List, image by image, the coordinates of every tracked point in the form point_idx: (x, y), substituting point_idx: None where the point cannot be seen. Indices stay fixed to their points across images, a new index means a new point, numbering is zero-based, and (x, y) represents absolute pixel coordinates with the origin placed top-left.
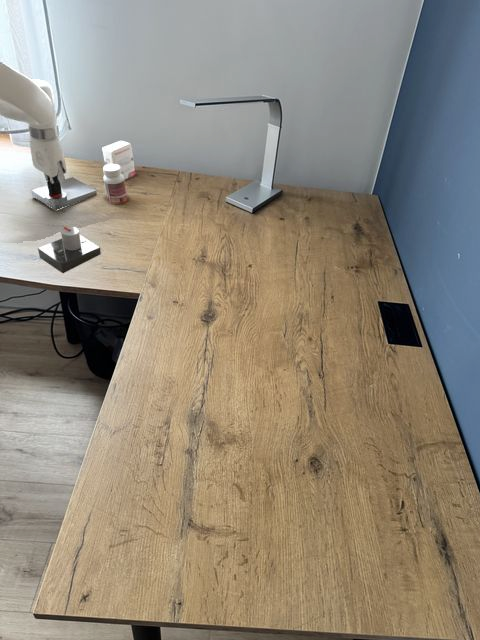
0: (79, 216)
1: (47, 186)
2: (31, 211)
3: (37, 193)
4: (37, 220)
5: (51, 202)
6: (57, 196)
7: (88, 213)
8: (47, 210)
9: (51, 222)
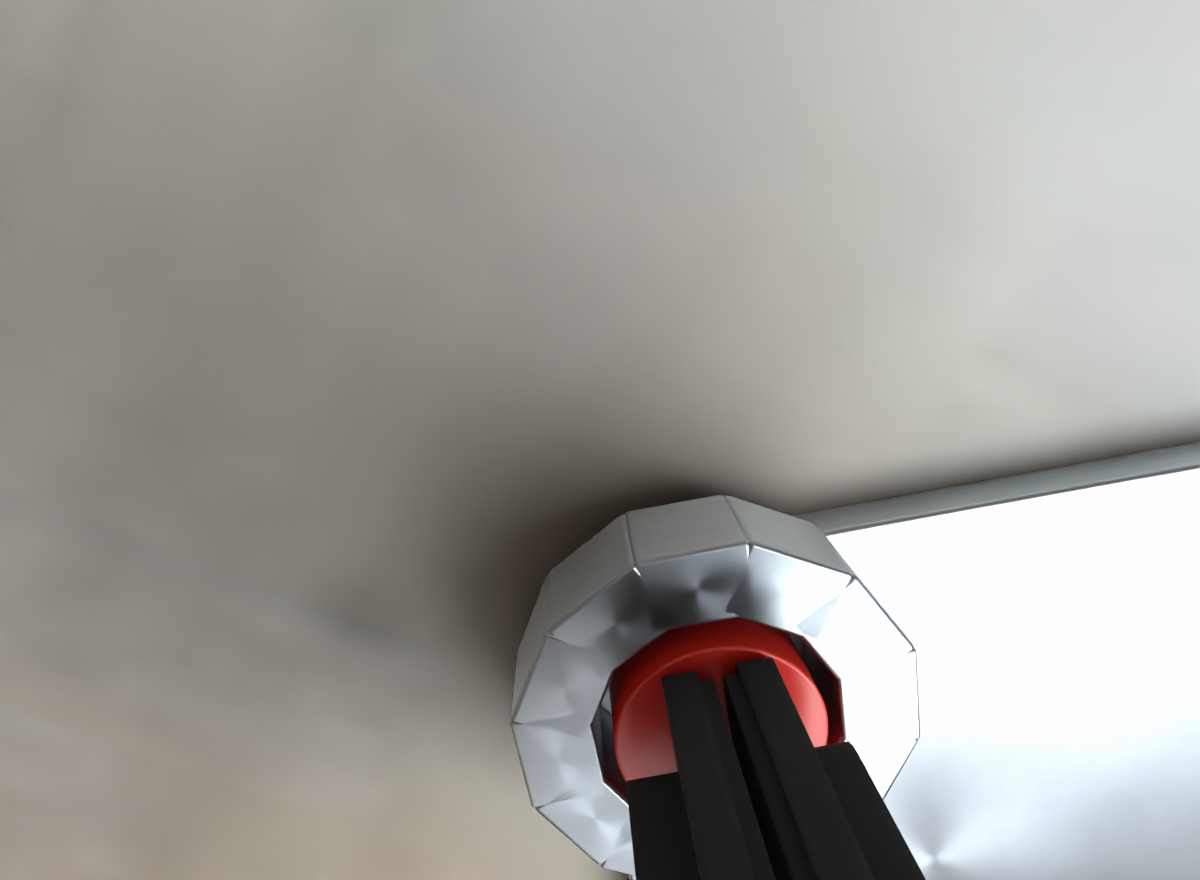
0: (117, 735)
1: (1196, 714)
2: (609, 145)
3: (1092, 495)
4: (215, 92)
5: (585, 561)
6: (615, 734)
7: (167, 859)
8: (512, 410)
9: (51, 292)
